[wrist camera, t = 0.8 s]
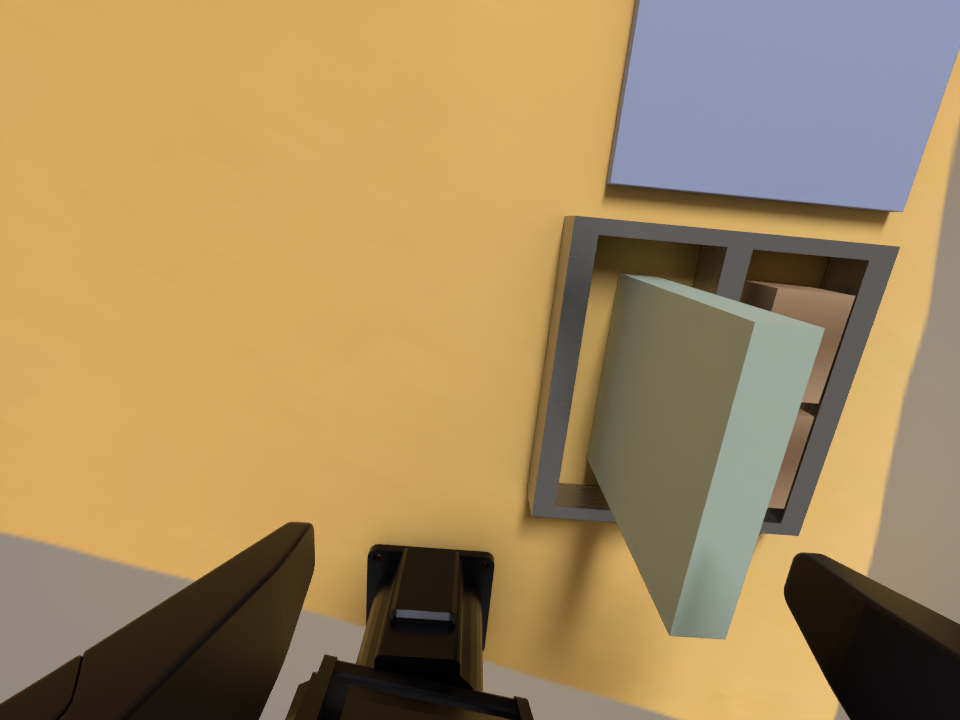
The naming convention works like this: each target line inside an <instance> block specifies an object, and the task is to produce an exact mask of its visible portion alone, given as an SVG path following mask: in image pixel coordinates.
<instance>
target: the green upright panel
mask: <svg viewBox="0 0 960 720" xmlns="http://www.w3.org/2000/svg"><path fill="white" fill-rule="evenodd" d="M824 330H825V328H822V327H819V326H816V325H813V324H809V323H806V322H803V321H800V320H796V319H793V318H790V317H787V316H783V315H780V314H777V313H774V312H770V311H767V310H764V309H761V308H757V307H754V306H751V305H748V304H744V303H741V302H738V301H735V300H731V299H728V298H725V297H722V296H718V295H715V294H712V293H709V292H705V291H702V290H699V289H696V288H692V287H689V286H686V285H683V284H679V283H676V282H673V281H670V280H666V279H663V278H660V277H656V276H647V275H636V274H626V273H619V278H618V284H617V289H616V295H615V301H614V306H613V312H612V317H611V323H610V329H609V334H608V340H607V345H606V351H605V357H604V362H603V368H602V374H601V379H600V385H599V390H598V396H597V402H596V407H595V413H594V418H593V424H592V430H591V435H590V441H589V447H588V452H587V460H588V462H589V464H590V466H591V468H592V471H593V473H594V475H595V477H596V479H597V481H598V484H599V486H600V488H601V490H602V492H603V494H604V496H605V499H606V501H607V503H608V505H609V507H610V509H611V511H612V514H613V516H614V518H615V520H616V522H617V524H618V526H619V529H620V531H621V533H622V535H623V537H624V539H625V542H626V544H627V546H628V548H629V550H630V552H631V554H632V557H633V559H634V561H635V563H636V565H637V567H638V569H639V572H640V574H641V576H642V578H643V580H644V582H645V584H646V587H647V589H648V591H649V593H650V595H651V597H652V600H653V602H654V604H655V606H656V608H657V610H658V612H659V615H660V617H661V619H662V621H663V623H664V625H665V627H666V630H667V632H668V634H669V636H678V637H694V638H710V639H726V636H727V633H728V629H729V626H730V623H731V620H732V617H733V614H734V611H735V608H736V605H737V601H738V598H739V595H740V592H741V589H742V586H743V583H744V580H745V576H746V573H747V570H748V567H749V564H750V561H751V558H752V555H753V552H754V548H755V545H756V542H757V539H758V536H759V533H760V530H761V527H762V523H763V520H764V517H765V514H766V511H767V508H768V505H769V502H770V499H771V495H772V492H773V489H774V486H775V483H776V480H777V477H778V474H779V470H780V467H781V464H782V461H783V458H784V455H785V452H786V449H787V445H788V442H789V439H790V436H791V433H792V430H793V427H794V424H795V421H796V417H797V414H798V411H799V408H800V405H801V402H802V399H803V396H804V392H805V389H806V386H807V383H808V380H809V377H810V374H811V371H812V368H813V364H814V361H815V358H816V355H817V352H818V349H819V346H820V343H821V339H822V336H823V333H824Z"/></svg>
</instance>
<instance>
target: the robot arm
mask: <svg viewBox="0 0 960 720" xmlns="http://www.w3.org/2000/svg"><path fill="white" fill-rule="evenodd" d="M375 554H380V555H381V556H376V555H375ZM483 561H486V562H488V563H487V564H483V563H481V562H483ZM314 566H315V545H314V528H313V525H312V524H311V523H305V522H289V523H287V524H285V525H283V526H282V527H280V528H279V529H277V530H275V531H274V532H272V533H271V534H269V535H268V536H266V537H264V538H263V539H261V540H260V541H258V542H257V543H255V544H253V545H252V546H250V547H249V548H247V549H246V550H244V551H242V552H241V553H239V554H238V555H236V556H234V557H233V558H231V559H230V560H228V561H227V562H225V563H223V564H222V565H220V566H219V567H217V568H216V569H214V570H212V571H211V572H209V573H208V574H206V575H205V576H203V577H201V578H200V579H198V580H197V581H195V582H193V583H192V584H190V585H189V586H187V587H186V588H184V589H183V590H181V591H179V592H178V593H176V594H175V595H173V596H171V597H170V598H168V599H167V600H165V601H163V602H162V603H160V604H159V605H157V606H156V607H154V608H153V609H151V610H149V611H148V612H146V613H145V614H143V615H141V616H140V617H139V618H137V619H135V620H134V621H132V622H130V623H129V624H127V625H126V626H124V627H123V628H121V629H119V630H118V631H116V632H115V633H113V634H112V635H110V636H108V637H107V638H105V639H104V640H102V641H100V642H99V643H97V644H96V645H94V646H92V647H91V648H90V649H88V650H86V651H85V652H84V655H83V657H82V656H80V655H79V656H77V657H75V658H73V659H72V660H70V661H69V662H67V663H65V664H64V665H62V666H61V667H59V668H57V669H56V670H54V671H53V672H51V673H50V674H48V675H46V676H45V677H43V678H42V679H40V680H38V681H37V682H35V683H33V684H32V685H30V686H29V687H27V688H25V689H24V690H22V691H20V692H19V693H17V694H15V695H14V696H12V697H11V698H9V699H7V700H6V701H4V702H2V703H1V704H0V720H259V718H260V716H261V713H262V711H263V709H264V707H265V704H266V702H267V700H268V698H269V695H270V693H271V691H272V689H273V686H274V684H275V682H276V680H277V677H278V675H279V672H280V670H281V668H282V665H283V663H284V660H285V657H286V655H287V651H288V649H289V646H290V642H291V640H292V636H293V634H294V630H295V627H296V624H297V621H298V618H299V615H300V612H301V609H302V606H303V603H304V600H305V597H306V594H307V591H308V588H309V585H310V582H311V578H312V575H313V571H314ZM493 573H494V557H493V556H492V554H490V553H488V552H480V551H466V550H452V549H437V548H423V547H409V546H395V545H381V544H378V545H374V546H372V547H371V548H370V551H369V554H368V562H367V610H366V629H365V633H364V636H363V640H362V644H361V648H360V651H359V655H358V658H357V662H356V664H353V663H349V662H344V661H339V660H337V657H334V656H329V655H324V658H323V661H322V663H321V666H320V668H319V671H318V673H317V672H313V673H312V676H311V679H310V680H309V681H307V682H304V683H302V684H300V685H299V686H298V688H297V691H296V694H295V696H294V699H293V701H292V704H291V706H290V709H289V712H288V714H287V717H286V719H285V720H534V719H533V716H532V713H531V709H530V706H529V702H528V700H527V699H526V698H521V697H516V696H515V697H514V698H508V697H504V696H500V695H495V694H490V693H486V692H483V665H482V664H483V661H482V651H483V650H484V647H485V639H486V631H487V623H488V614H489V606H490V598H491V590H492V581H493ZM784 597H785V600H786V603H787V605H788V607H789V609H790V611H791V613H792V614H793V616H794V618H795V620H796V622H797V624H798V626H799V628H800V630H801V632H802V634H803V636H804V638H805V639H806V641H807V643H808V645H809V647H810V649H811V651H812V653H813V655H814V657H815V659H816V661H817V663H818V664H819V666H820V668H821V670H822V672H823V674H824V676H825V678H826V680H827V681H828V683H829V685H830V687H831V689H832V691H833V692H834V694H835V696H836V697H837V699H838V701H839V702H840V704H841V706H842V707H843V709H844V710H845V712H846V713H847V715H848V717H849V718H850V720H960V624H958V623H956V622H954V621H952V620H950V619H948V618H946V617H944V616H942V615H940V614H938V613H936V612H935V611H933V610H931V609H929V608H927V607H925V606H923V605H921V604H919V603H917V602H915V601H913V600H911V599H909V598H907V597H905V596H903V595H901V594H899V593H897V592H895V591H893V590H891V589H889V588H887V587H886V586H884V585H881V584H880V583H877V582H876V581H874V580H872V579H870V578H868V577H866V576H864V575H862V574H860V573H858V572H856V571H854V570H852V569H850V568H848V567H847V566H845V565H843V564H841V563H839V562H837V561H835V560H833V559H831V558H829V557H827V556H825V555H822V554H817V553H798V554H797V555H796V556H795V557H794V558H793V561H792V564H791V567H790V570H789V573H788V577H787V580H786V583H785V586H784Z"/></svg>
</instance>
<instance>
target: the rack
mask: <svg viewBox="0 0 960 720" xmlns="http://www.w3.org/2000/svg"><path fill="white" fill-rule="evenodd" d="M598 235H605V236H615V237H626V238H637V239H647V240H658V241H669V242H679V243H690V244H700V245H703V246H702V250H701V254H700V259H699V263H698V268H697V272H696V276H695V281H694V285H693V288H696V289H699V290H702V291H705V292H709V293H712V294H715V295H718V296H722V297H725V298H728V299H731V300H735V301H738V302H740V298H741V294H742V290H743V287H744V283H745V279H746V275H747V271H748V267H749V264H750V260H751V256H752V252H753V250H764V251H775V252H785V253H796V254H807V255H817V256H828V257H830V261H829V264H828V267H827V270H826V274H825V277H824V280H823V283H822V286H821V289H823V290H828V291H833V292H838V293H843V294H848V295H853V296H855V299H854V302H853V304H852V307H851V310H850V313H849V316H848V319H847V322H846V325H845V328H844V331H843V333H842V336H841V339H840V342H839V345H838V348H837V351H836V354H835V357H834V360H833V362H832V365H831V368H830V371H829V374H828V377H827V380H826V383H825V386H824V389H823V391H822V394H821V397H820V400H819V403H818V404H817V403H806V402H801V405H800V409H802V410H804V411H805V412H807V413H809V414H810V415H812V416H814V419H813V422H812V425H811V428H810V431H809V434H808V437H807V440H806V444H805V447H804V450H803V453H802V456H801V459H800V462H799V465H798V468H797V471H796V474H795V477H794V480H793V483H792V486H791V489H790V492H789V495H788V498H787V501H786V504H785V507H784V509H781V508H767V511H766V514H765V517H764V520H763V523H762V527H761V530H760V533H767V534H780V535H794V536H799V533H800V530H801V527H802V524H803V521H804V519H805V516H806V513H807V510H808V507H809V504H810V502H811V499H812V496H813V493H814V490H815V487H816V484H817V482H818V479H819V476H820V473H821V470H822V467H823V465H824V462H825V459H826V456H827V453H828V450H829V447H830V445H831V442H832V439H833V436H834V433H835V430H836V428H837V425H838V422H839V419H840V416H841V413H842V410H843V408H844V405H845V402H846V399H847V396H848V393H849V391H850V388H851V385H852V382H853V379H854V376H855V373H856V371H857V368H858V365H859V362H860V359H861V356H862V354H863V351H864V348H865V345H866V342H867V339H868V337H869V334H870V331H871V328H872V325H873V322H874V319H875V317H876V314H877V311H878V308H879V305H880V302H881V300H882V297H883V294H884V291H885V288H886V285H887V282H888V280H889V277H890V274H891V271H892V268H893V265H894V263H895V260H896V257H897V254H898V251H899V248H900V247H896V246H885V245H875V244H864V243H854V242H843V241H833V240H823V239H812V238H802V237H791V236H781V235H770V234H760V233H749V232H739V231H728V230H718V229H707V228H697V227H686V226H676V225H665V224H655V223H644V222H634V221H623V220H613V219H602V218H592V217H581V216H565V220H564V227H563V234H562V241H561V249H560V256H559V263H558V270H557V277H556V285H555V292H554V299H553V306H552V314H551V321H550V328H549V335H548V342H547V350H546V357H545V364H544V371H543V379H542V386H541V393H540V400H539V407H538V415H537V422H536V429H535V436H534V444H533V451H532V458H531V465H530V473H529V480H528V487H527V495H528V500H529V505H530V511H531V516H537V517H550V518H564V519H577V520H591V521H604V522H616V520H615V518H614V516H613V514H612V511H611V509H610V507H609V505H608V503H607V501H606V499H605V496H604V494H603V492H602V490H601V488H600V486H589V485H576V484H563V483H559V478H560V471H561V465H562V459H563V453H564V446H565V440H566V434H567V428H568V422H569V415H570V409H571V403H572V397H573V391H574V384H575V378H576V372H577V366H578V359H579V353H580V347H581V341H582V335H583V328H584V322H585V316H586V310H587V304H588V297H589V291H590V285H591V279H592V272H593V266H594V260H595V254H596V248H597V241H598Z"/></svg>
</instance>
